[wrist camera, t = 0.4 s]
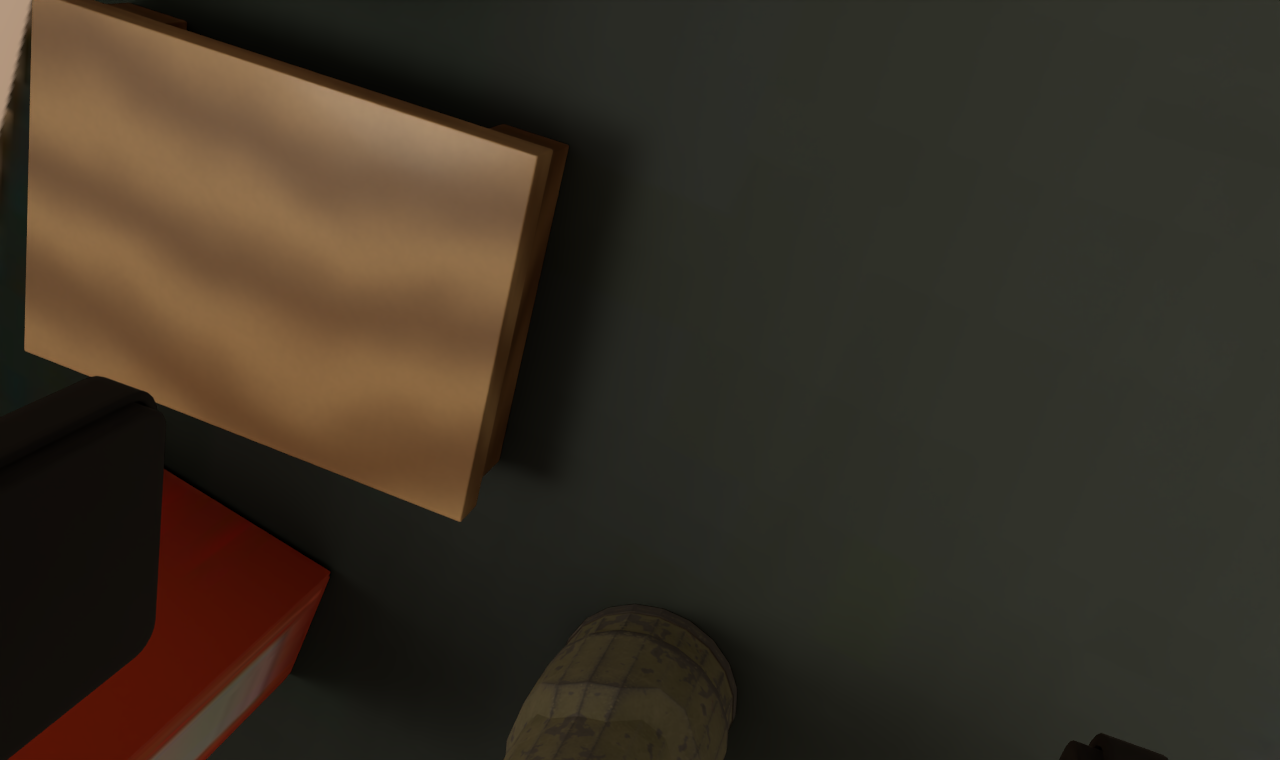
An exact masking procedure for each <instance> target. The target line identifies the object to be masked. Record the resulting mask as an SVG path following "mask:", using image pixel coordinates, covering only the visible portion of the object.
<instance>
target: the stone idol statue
mask: <svg viewBox="0 0 1280 760" xmlns="http://www.w3.org/2000/svg"><path fill="white" fill-rule="evenodd" d="M736 702H737V687H736V684H735V680H734V677H733V674H732V671H731V668H730V664H729V662H728V661H727V660H726V658H725V657H724V655H723V654H722V652H721V651H720V649H719V648H718V647H717V645H716V644H715V642H714V641H713V640H712V639H711V638H710V637H709V636H707V635H706V634H705V633H704V632H703V631H701V630H700V629H699V628H698V627H697V626H695V625H694V624H693V623H692V622H691V621H689V620H687V619H684V618H682V617H680V616H678V615H676V614H674V613H671V612H669V611H667V610H665V609H662V608H656V607H650V606H644V605H638V604H631V605H624V606H616V607H608V608H606V609H604V610H602V611H600V612H598V613H596V614H594V615H592V616H590V617H588V618H586V619H585V621H584V622H583V623H582V624H581V625H580V626H579V627H578V628H577V629H576V631H575V632H574V633H573V634H572V635H571V636H570V638H569V639H568V641H567V643H566V645H565V647H564V648H563V649H562V650H561V651H560V652H559V653H558V654H557V655H556V657H555V658H554V659H553V660H552V661H551V662H550V663H549V664H548V666H547V667H546V669H545V670H544V672H543V674H542V675H541V677H540V678H539V680H538V681H537V683H536V684H535V686H534V688H533V689H532V691H531V692H530V694H529V695H528V697H527V698H526V700H525V702H524V704H523V706H522V708H521V710H520V712H519V715H518V717H517V719H516V721H515V723H514V726H513V728H512V730H511V732H510V734H509V736H508V739H507V745H506V756H505V758H504V759H503V760H724V757H725V754H726V751H727V739H728V731H729V729H730V727H731V725H732V723H733V720H734V717H735V714H736Z"/></svg>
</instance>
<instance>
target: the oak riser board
mask: <svg viewBox="0 0 1280 760" xmlns="http://www.w3.org/2000/svg"><path fill="white" fill-rule="evenodd" d="M568 149H569V145H567V144H564V143H561V142H558V141H555V140H552V139H549V138H546V137H543V136H539V135H536V134H533V133H530V132H527V131H524V130H521V129H518V128H515V127H512V126H509V125H505V124H501V125H498V126H495V127H492V128H489V129H488V128H485V127H482V126H479V125H476V124H473V123H470V122H467V121H464V120H460V119H457V118H454V117H451V116H448V115H445V114H442V113H439V112H436V111H433V110H430V109H427V108H424V107H420V106H417V105H414V104H411V103H408V102H405V101H402V100H399V99H396V98H393V97H390V96H387V95H384V94H381V93H377V92H374V91H371V90H368V89H365V88H362V87H359V86H356V85H353V84H350V83H347V82H344V81H341V80H337V79H334V78H331V77H328V76H325V75H322V74H319V73H316V72H313V71H310V70H307V69H304V68H301V67H297V66H294V65H291V64H288V63H285V62H282V61H279V60H276V59H273V58H270V57H267V56H264V55H261V54H257V53H254V52H251V51H248V50H245V49H242V48H239V47H236V46H233V45H230V44H227V43H224V42H221V41H217V40H214V39H211V38H208V37H205V36H202V35H199V34H196V33H193V32H190V31H187V22H186V21H184V20H181V19H178V18H175V17H171V16H168V15H165V14H162V13H159V12H156V11H153V10H150V9H147V8H144V7H140V6H137V5H134V4H131V3H118V4H104V3H101V2H98V1H94V0H32V41H31V85H30V129H29V172H28V216H27V260H26V304H25V348H24V350H25V351H27V352H29V353H32V354H34V355H37V356H39V357H42V358H44V359H47V360H50V361H52V362H55V363H57V364H60V365H62V366H65V367H67V368H70V369H72V370H75V371H77V372H80V373H83V374H85V375H88V376H90V377H93V376H102V377H106V378H109V379H111V380H114V381H117V382H120V383H123V384H125V385H128V386H131V387H134V388H137V389H139V390H142V391H145V392H148V393H149V394H150V395H151V396H152V397H153V398H154V400H155V402H156V403H159V404H161V405H164V406H166V407H169V408H172V409H174V410H177V411H179V412H182V413H184V414H187V415H189V416H192V417H194V418H197V419H199V420H202V421H205V422H207V423H210V424H212V425H215V426H217V427H220V428H222V429H225V430H227V431H230V432H232V433H235V434H238V435H240V436H243V437H245V438H248V439H250V440H253V441H255V442H258V443H260V444H263V445H266V446H268V447H271V448H273V449H276V450H278V451H281V452H283V453H286V454H288V455H291V456H293V457H296V458H299V459H301V460H304V461H306V462H309V463H311V464H314V465H316V466H319V467H321V468H324V469H327V470H329V471H332V472H334V473H337V474H339V475H342V476H344V477H347V478H349V479H352V480H354V481H357V482H360V483H362V484H365V485H367V486H370V487H372V488H375V489H377V490H380V491H382V492H385V493H388V494H390V495H393V496H395V497H398V498H400V499H403V500H405V501H408V502H410V503H413V504H415V505H418V506H421V507H423V508H426V509H428V510H431V511H433V512H436V513H438V514H441V515H443V516H446V517H448V518H451V519H454V520H456V521H459V522H461V521H462V520H463V519H464V518H465V517H466V516H467V515H468V514H469V513H470V512H471V510H472V509H473V508H474V507H475V506H476V503H477V499H478V494H479V489H480V485H481V480H482V477H483V476H484V475H485V474H486V473H487V472H488V471H489V470H490V469H491V468H492V467H493V466H494V465H495V464H496V463H497V462H498V461H499V459H500V454H501V450H502V445H503V441H504V436H505V432H506V427H507V423H508V418H509V414H510V409H511V405H512V400H513V396H514V391H515V387H516V382H517V378H518V373H519V369H520V364H521V360H522V355H523V351H524V346H525V342H526V337H527V333H528V328H529V324H530V319H531V315H532V310H533V306H534V301H535V297H536V292H537V288H538V283H539V279H540V274H541V270H542V265H543V261H544V256H545V252H546V248H547V243H548V239H549V234H550V230H551V225H552V221H553V216H554V212H555V207H556V203H557V198H558V194H559V189H560V185H561V180H562V176H563V171H564V167H565V162H566V158H567V153H568Z"/></svg>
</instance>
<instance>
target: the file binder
mask: <svg viewBox="0 0 1280 760" xmlns="http://www.w3.org/2000/svg"><path fill="white" fill-rule="evenodd" d="M329 575H330V571H328V570H327V569H325V568H324V567H322V566H320V565H319V564H317V563H315V562H314V561H312V560H311V559H309V558H307V557H306V556H304V555H303V554H301V553H299V552H298V551H296V550H294V549H293V548H291V547H290V546H288V545H286V544H285V543H283V542H282V541H280V540H278V539H277V538H275V537H273V536H272V535H270V534H269V533H267V532H265V531H264V530H262V529H261V528H259V527H257V526H256V525H254V524H252V523H251V522H249V521H248V520H246V519H244V518H243V517H241V516H240V515H238V514H236V513H235V512H233V511H231V510H230V509H228V508H227V507H225V506H223V505H222V504H220V503H218V502H217V501H215V500H214V499H212V498H210V497H209V496H207V495H206V494H204V493H202V492H201V491H199V490H197V489H196V488H194V487H193V486H191V485H189V484H188V483H186V482H185V481H183V480H181V479H180V478H178V477H176V476H175V475H173V474H172V473H170V472H168V471H167V470H165V469H164V475H163V493H162V512H161V530H160V549H159V567H158V586H157V604H156V621H155V627H154V630H153V633H152V635H151V637H150V639H149V641H148V643H147V645H146V646H145V647H144V649H143V650H142V651H141V652H140V653H139V654H138V655H137V656H136V657H135V658H134V659H133V660H132V661H130V662H129V663H128V664H127V665H125V666H124V667H123V668H122V669H120V670H119V671H118V672H117V673H115V674H114V675H113V676H112V677H110V678H109V679H108V680H107V681H105V682H104V683H103V684H102V685H100V686H99V687H98V688H97V689H95V690H94V691H93V692H92V693H90V694H89V695H88V696H87V697H85V698H84V699H83V700H82V701H80V702H79V703H78V704H77V705H75V706H74V707H73V708H72V709H70V710H69V711H68V712H67V713H65V714H64V715H63V716H62V717H60V718H59V719H58V720H57V721H55V722H54V723H53V724H52V725H50V726H49V727H48V728H47V729H45V730H44V731H43V732H42V733H40V734H39V735H38V736H37V737H35V738H34V739H33V740H31V741H30V742H29V743H28V744H26V745H25V746H24V747H23V748H21V749H20V750H19V751H18V752H16V753H15V754H14V755H13V756H11V757H10V758H9V759H8V760H206V759H207V758H208V757H209V756H210V755H211V754H212V753H213V752H214V751H215V750H216V749H217V748H218V747H219V746H220V745H221V744H222V743H223V742H224V741H225V740H226V739H227V738H228V737H229V736H230V735H231V734H232V732H233V731H234V730H235V729H236V728H237V727H238V726H239V725H240V724H241V723H242V722H243V721H244V720H245V719H246V718H247V717H248V716H249V715H250V714H251V713H252V712H253V711H254V710H255V709H256V708H257V707H258V706H259V705H260V704H261V703H262V702H263V701H264V700H265V699H266V698H267V697H268V696H269V695H270V694H271V693H272V692H273V691H274V690H275V689H276V688H277V687H278V686H279V685H280V684H281V683H282V682H283V681H284V680H285V679H286V678H287V676H288V675H289V674H290V672H291V670H292V668H293V665H294V663H295V660H296V658H297V655H298V653H299V651H300V648H301V646H302V643H303V641H304V639H305V636H306V634H307V631H308V629H309V626H310V624H311V622H312V619H313V617H314V614H315V612H316V610H317V607H318V605H319V602H320V600H321V598H322V595H323V593H324V590H325V588H326V585H327V583H328V581H329V578H330V576H329Z"/></svg>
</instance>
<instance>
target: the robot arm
mask: <svg viewBox="0 0 1280 760" xmlns="http://www.w3.org/2000/svg"><path fill="white" fill-rule="evenodd" d="M165 438H166V421H165V418H164V416H163V414H162V413H160V412H159V411H157V405H156V403H155V400H154V398H153V397H152V396H151V395H150V394H149V393H148V392H145V391H142V390H139V389H137V388H134V387H131V386H128V385H125V384H123V383H120V382H117V381H114V380H111V379H109V378H106V377H102V376H93V377H89V378H86V379H84V380H82V381H80V382H77V383H75V384H73V385H71V386H68V387H66V388H64V389H62V390H60V391H57V392H55V393H53V394H51V395H49V396H46V397H44V398H42V399H40V400H37V401H35V402H33V403H31V404H29V405H26V406H24V407H22V408H20V409H17V410H15V411H13V412H11V413H9V414H6V415H4V416H2V417H0V760H8V759H9V758H10V757H11V756H13V755H14V754H15V753H16V752H18V751H19V750H20V749H21V748H23V747H24V746H25V745H26V744H28V743H29V742H30V741H31V740H33V739H34V738H35V737H37V736H38V735H39V734H40V733H42V732H43V731H44V730H45V729H47V728H48V727H49V726H50V725H52V724H53V723H54V722H55V721H57V720H58V719H59V718H60V717H62V716H63V715H64V714H65V713H67V712H68V711H69V710H70V709H72V708H73V707H74V706H75V705H77V704H78V703H79V702H80V701H82V700H83V699H84V698H85V697H87V696H88V695H89V694H90V693H92V692H93V691H94V690H95V689H97V688H98V687H99V686H100V685H102V684H103V683H104V682H105V681H107V680H108V679H109V678H110V677H112V676H113V675H114V674H115V673H117V672H118V671H119V670H120V669H122V668H123V667H124V666H125V665H127V664H128V663H129V662H130V661H132V660H133V659H134V658H135V657H136V656H137V655H138V654H139V653H140V652H141V651H142V650H143V649H144V647H145V646H146V645H147V643H148V641H149V639H150V637H151V635H152V633H153V630H154V627H155V621H156V604H157V586H158V567H159V549H160V530H161V512H162V493H163V475H164V456H165ZM1059 760H1168V758H1166V757H1165V756H1164V755H1162V754H1159V753H1156V752H1153V751H1150V750H1148V749H1145V748H1142V747H1139V746H1136V745H1134V744H1131V743H1128V742H1125V741H1122V740H1120V739H1117V738H1114V737H1111V736H1108V735H1106V734H1103V733H1101V734H1098V735H1096V736H1095V737H1094V739H1093V740H1092V741H1091V743H1090V744H1089V746H1088V745H1085V744H1082V743H1079V742H1077V741H1074V740H1073V741H1070V742H1069V743H1068V745H1067V746H1066V747H1065V749H1064V751H1063V753H1062V755H1061V757H1060V759H1059Z"/></svg>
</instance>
